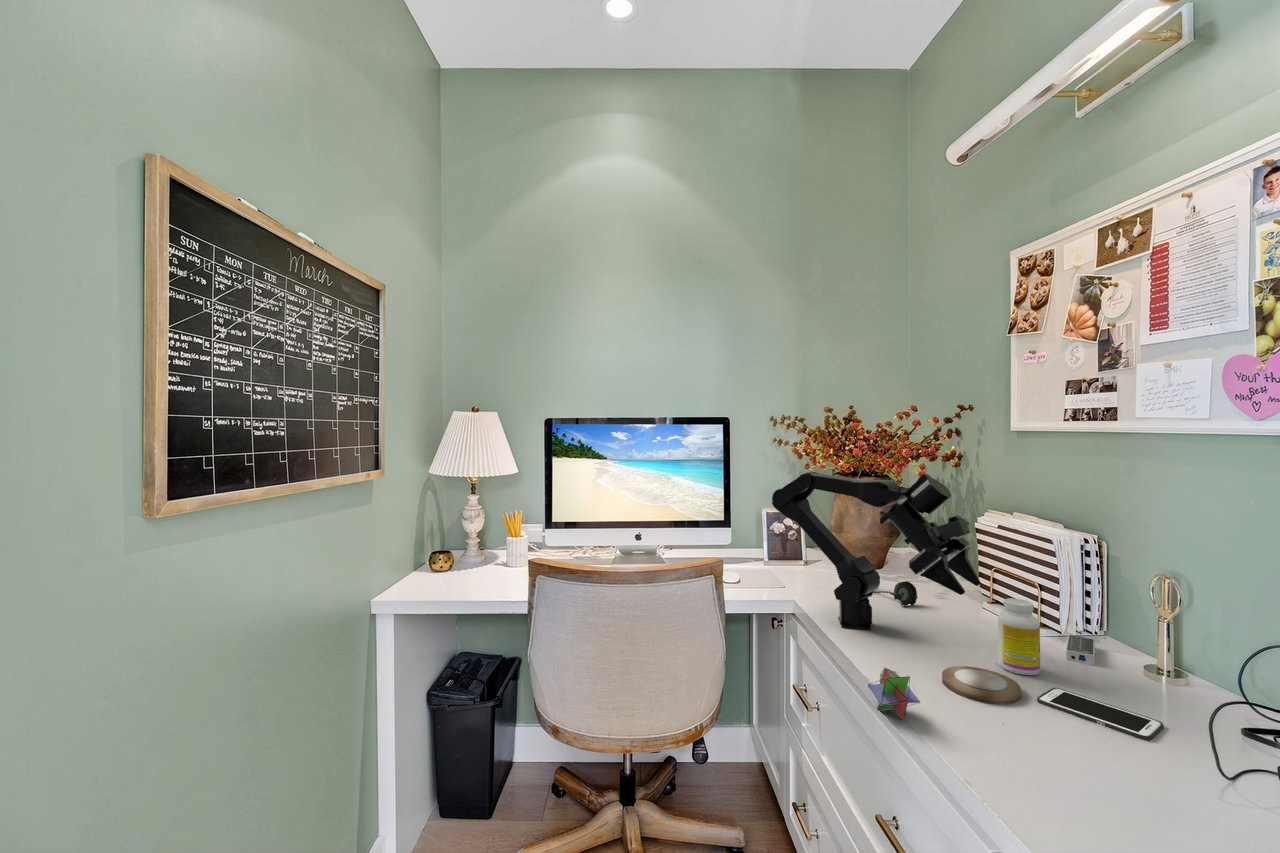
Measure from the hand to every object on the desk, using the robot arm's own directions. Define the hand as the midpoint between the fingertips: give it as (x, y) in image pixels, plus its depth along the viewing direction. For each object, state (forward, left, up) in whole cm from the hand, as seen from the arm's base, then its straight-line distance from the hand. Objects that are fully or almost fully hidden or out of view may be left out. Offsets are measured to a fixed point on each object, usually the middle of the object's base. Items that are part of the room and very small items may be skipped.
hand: (971, 589), depth 113 cm
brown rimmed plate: (-3, -15, -14) cm, 20 cm away
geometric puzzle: (-20, -28, -14) cm, 37 cm away
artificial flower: (-12, +40, -14) cm, 44 cm away
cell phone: (+12, -21, -14) cm, 28 cm away
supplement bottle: (+7, -5, -14) cm, 16 cm away
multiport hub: (+22, +6, -14) cm, 27 cm away
